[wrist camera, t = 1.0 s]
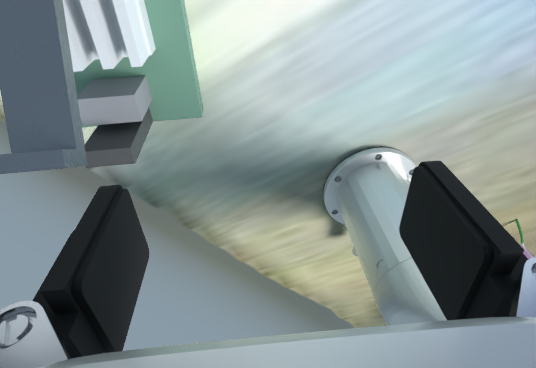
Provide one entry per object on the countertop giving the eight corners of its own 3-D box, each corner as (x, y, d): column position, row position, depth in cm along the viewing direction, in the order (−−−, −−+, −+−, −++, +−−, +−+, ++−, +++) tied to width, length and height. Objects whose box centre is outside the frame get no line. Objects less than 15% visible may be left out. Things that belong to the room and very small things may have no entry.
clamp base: (203, 109, 36) (195, 158, 28) (71, 120, 36) (25, 173, 28) (150, -189, 23) (108, -252, 15) (-60, -179, 23) (-218, -240, 15)
